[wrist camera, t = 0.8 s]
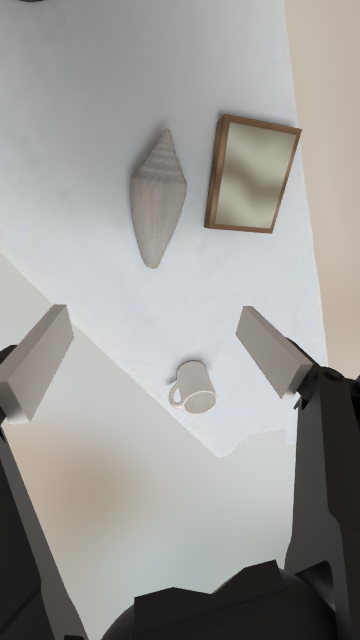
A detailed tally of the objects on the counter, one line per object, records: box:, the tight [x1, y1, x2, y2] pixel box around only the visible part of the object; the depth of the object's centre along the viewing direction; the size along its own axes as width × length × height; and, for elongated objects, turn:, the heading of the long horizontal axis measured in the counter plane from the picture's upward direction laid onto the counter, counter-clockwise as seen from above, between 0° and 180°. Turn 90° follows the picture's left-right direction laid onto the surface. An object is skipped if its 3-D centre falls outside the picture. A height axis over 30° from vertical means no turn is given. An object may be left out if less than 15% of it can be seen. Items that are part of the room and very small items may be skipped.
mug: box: [169, 361, 218, 415], centre depth 48 cm, size 12×8×10 cm
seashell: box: [130, 129, 187, 269], centre depth 30 cm, size 9×11×15 cm
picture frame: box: [204, 114, 302, 234], centre depth 31 cm, size 14×12×3 cm
